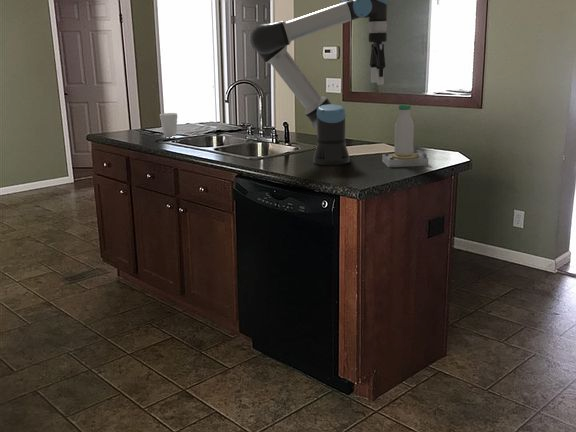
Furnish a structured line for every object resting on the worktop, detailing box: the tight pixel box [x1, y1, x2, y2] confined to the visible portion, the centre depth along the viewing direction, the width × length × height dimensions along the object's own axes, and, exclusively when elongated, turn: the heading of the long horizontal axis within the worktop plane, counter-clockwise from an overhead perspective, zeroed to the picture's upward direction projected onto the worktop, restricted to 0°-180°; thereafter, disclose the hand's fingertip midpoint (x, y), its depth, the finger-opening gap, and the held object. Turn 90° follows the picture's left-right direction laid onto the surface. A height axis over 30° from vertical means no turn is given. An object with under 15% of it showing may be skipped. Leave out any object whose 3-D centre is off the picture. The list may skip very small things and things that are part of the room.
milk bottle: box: [393, 104, 415, 156], centre depth 245 cm, size 8×8×20 cm
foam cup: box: [159, 112, 178, 138], centre depth 334 cm, size 10×9×13 cm
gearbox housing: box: [382, 149, 429, 168], centre depth 248 cm, size 16×12×4 cm
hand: (377, 83), depth 261 cm, fingers open, 13 cm apart
